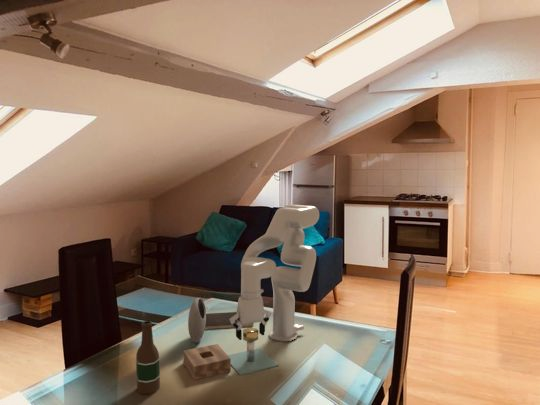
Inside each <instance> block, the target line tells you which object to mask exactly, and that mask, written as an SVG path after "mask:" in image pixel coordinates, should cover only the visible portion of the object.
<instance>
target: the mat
mask: <svg viewBox="0 0 540 405" xmlns="http://www.w3.org/2000/svg"><path fill="white" fill-rule="evenodd" d="M227 355H228V356H229V357H230V359H231V367H232V368H233V370H234V371H236V373H237V374H238V375H239V376H242V375H246V374H251V373H253V372H254V373H255V372H258V371H264V370H267V369H271V368H276V367H279V364H278V363H276V361H274V360H273V359H272V358H271V357H270V356H269V355H268V354H267V353H266V352H265V351H264V350H262V348H261V347H258V348H254V361H253V362H248V361H247V350H245V351H241V352H235V353H231V354H227Z"/></svg>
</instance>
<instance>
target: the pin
mask: <svg viewBox="0 0 540 405" xmlns="http://www.w3.org/2000/svg"><path fill="white" fill-rule="evenodd" d="M242 339H243V341H244V342H246V351H247V361H248V362H253V361H254V349H255V342H256V341H257V340H259V329H257V328H254V327H246V328H245V329H243V330H242Z"/></svg>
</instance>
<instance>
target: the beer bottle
mask: <svg viewBox="0 0 540 405" xmlns="http://www.w3.org/2000/svg"><path fill="white" fill-rule="evenodd" d="M136 351H137V352H136V355H135V357H136V359H135V361H136V362H135V366H136V368H135V370H136V371H135V372H136V390H137V391H138V393H139V394H141V395H144V396H145V395H146V396H147V395H150V394H155V393H156V392H158V390H160V384H161V377H160V376H161V375H160V374H161V373H160V353H159V351H158V348H157V346H156V345H155V343H154V336H153V322H152V321H151V320H144V321H143V322H141V342H140V346H139V347H138V349H137V350H136Z"/></svg>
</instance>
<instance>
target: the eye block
mask: <svg viewBox="0 0 540 405" xmlns="http://www.w3.org/2000/svg"><path fill="white" fill-rule="evenodd" d="M228 355H229V354H227V353H226V352H225V350H224V349H223V348H222V347H221V346H220V345H219V343H216V344H211V345H204V346H200V347H195V348H191V349H190V348H189V349H186V350H183V355H182V356H183V365H184V366H185V368H186V369H187V371H188V372H189V374H190V376H191V377H192V379H193V380H194V381H195V380H200V379H204V378H208V377H212V376H217V375H221V374H226V373H230V372H231V367H232V366H231V359H230V357H229V356H228Z"/></svg>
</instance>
